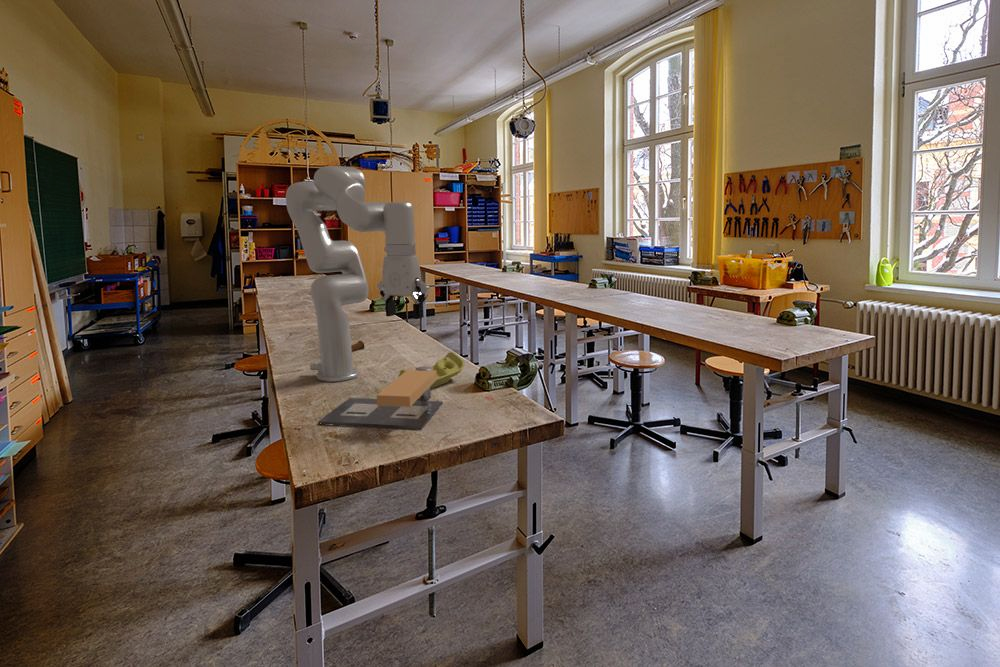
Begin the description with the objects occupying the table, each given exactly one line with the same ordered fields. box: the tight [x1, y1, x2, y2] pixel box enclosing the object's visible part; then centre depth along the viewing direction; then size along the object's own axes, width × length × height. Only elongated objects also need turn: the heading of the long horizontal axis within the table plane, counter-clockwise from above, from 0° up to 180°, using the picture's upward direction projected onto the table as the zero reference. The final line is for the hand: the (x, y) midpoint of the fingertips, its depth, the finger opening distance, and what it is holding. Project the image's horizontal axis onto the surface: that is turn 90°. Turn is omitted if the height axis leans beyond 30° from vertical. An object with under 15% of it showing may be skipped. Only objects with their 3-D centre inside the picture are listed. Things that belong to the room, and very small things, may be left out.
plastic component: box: [398, 351, 465, 390], centre depth 171 cm, size 20×7×10 cm
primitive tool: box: [318, 340, 365, 358], centre depth 208 cm, size 19×6×4 cm, turn 150°
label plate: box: [317, 387, 443, 430], centre depth 146 cm, size 26×24×6 cm
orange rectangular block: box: [376, 366, 437, 407], centre depth 144 cm, size 8×26×2 cm, turn 170°
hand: (404, 316), depth 150 cm, fingers open, 9 cm apart
